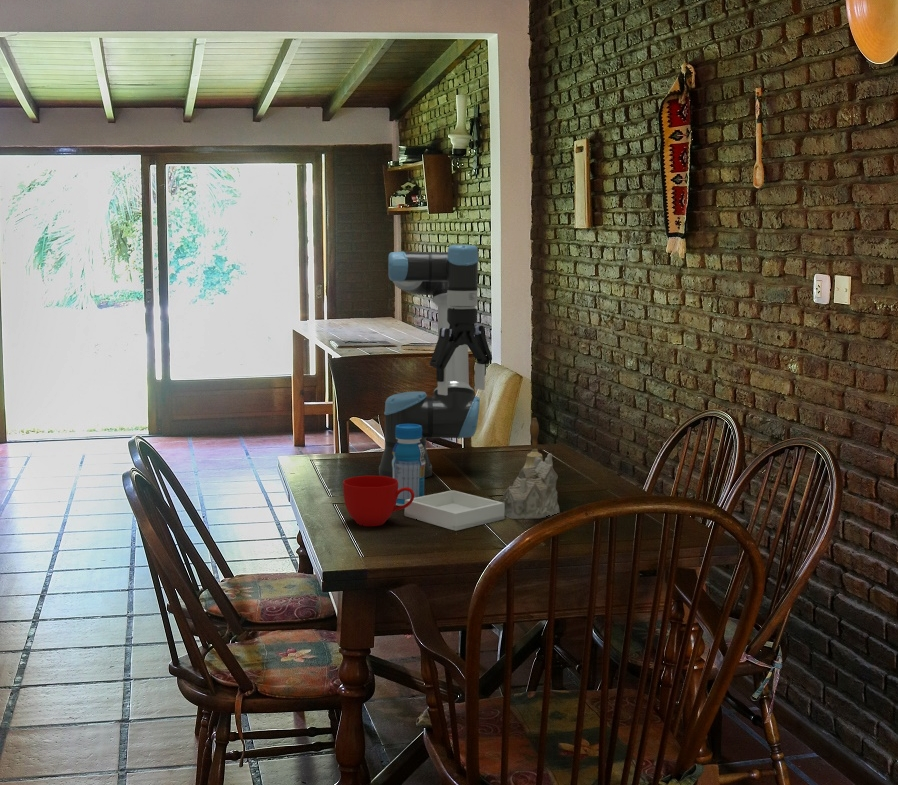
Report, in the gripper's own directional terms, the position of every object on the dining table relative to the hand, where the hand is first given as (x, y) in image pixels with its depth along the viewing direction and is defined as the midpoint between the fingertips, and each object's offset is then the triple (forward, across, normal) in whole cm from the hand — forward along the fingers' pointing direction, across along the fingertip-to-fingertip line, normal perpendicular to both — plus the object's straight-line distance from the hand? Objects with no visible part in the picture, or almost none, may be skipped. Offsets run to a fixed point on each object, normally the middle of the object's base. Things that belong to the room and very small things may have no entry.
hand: (461, 392), depth 278 cm
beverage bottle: (+28, -11, +7) cm, 31 cm away
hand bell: (+29, +41, +9) cm, 51 cm away
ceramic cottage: (+28, +5, -18) cm, 34 cm away
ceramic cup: (+28, -30, -2) cm, 41 cm away
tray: (+28, -13, -10) cm, 33 cm away
